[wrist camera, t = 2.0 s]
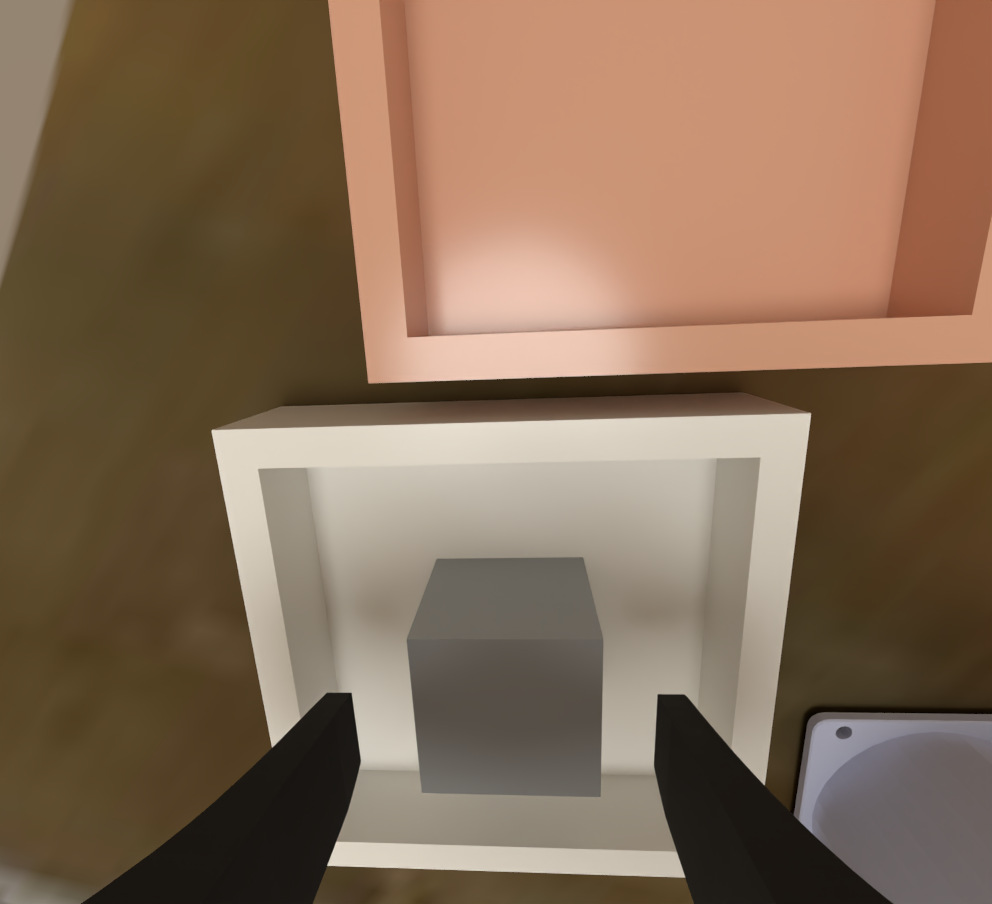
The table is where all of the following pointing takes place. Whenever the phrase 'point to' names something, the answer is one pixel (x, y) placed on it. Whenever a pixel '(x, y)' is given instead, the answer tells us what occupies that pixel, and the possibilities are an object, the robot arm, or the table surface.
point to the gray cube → (508, 678)
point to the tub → (519, 534)
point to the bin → (666, 184)
